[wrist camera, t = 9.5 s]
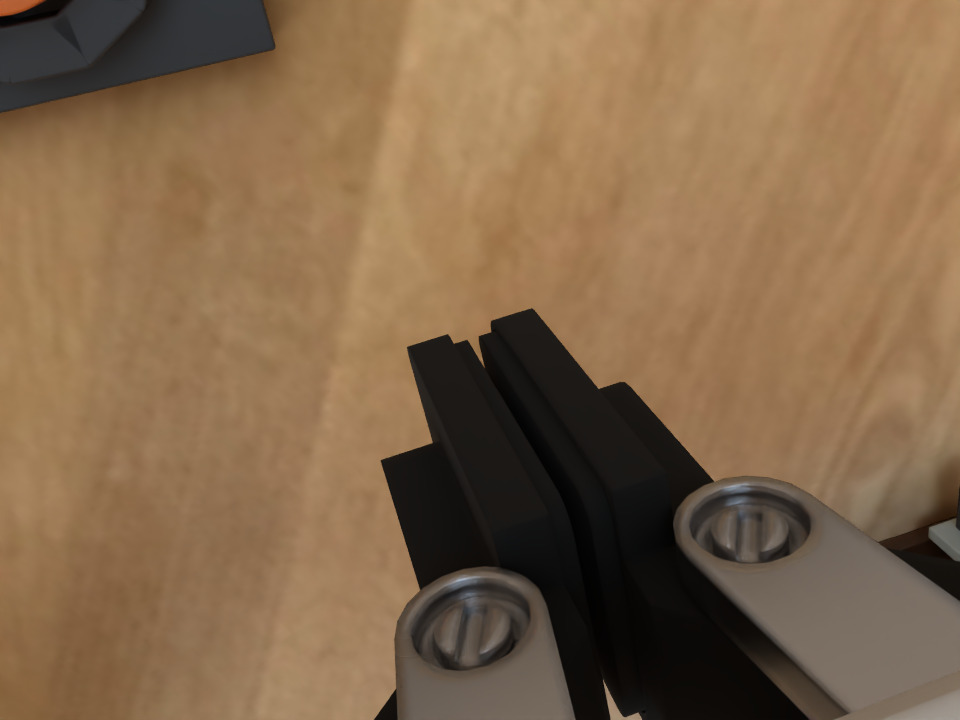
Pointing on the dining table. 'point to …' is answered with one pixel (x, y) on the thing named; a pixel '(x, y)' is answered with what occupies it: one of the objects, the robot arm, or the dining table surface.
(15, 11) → the button
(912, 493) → the dining table surface
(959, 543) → the door
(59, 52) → the switch box
